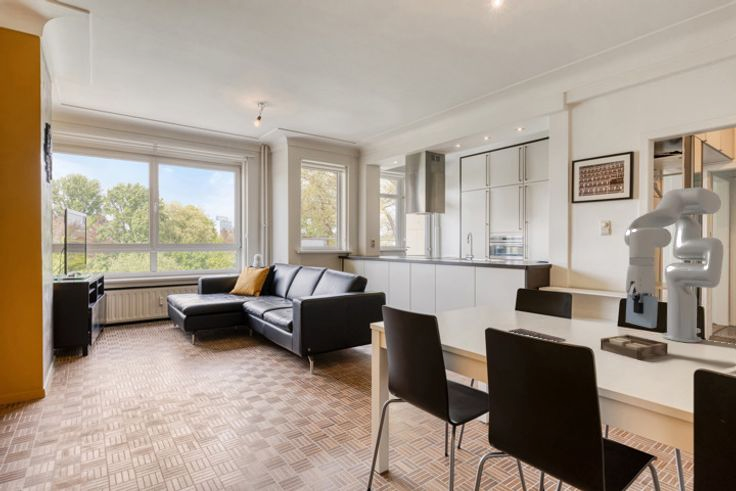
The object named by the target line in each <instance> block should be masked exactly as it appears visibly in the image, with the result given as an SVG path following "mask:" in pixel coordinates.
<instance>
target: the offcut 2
mask: <svg viewBox="0 0 736 491" xmlns="http://www.w3.org/2000/svg"><path fill="white" fill-rule="evenodd" d="M643 346H646V345H642V344H638V343H631V344H626V347H628V348H632V349H636V350H637V348H638V347H643Z"/></svg>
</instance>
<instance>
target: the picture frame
mask: <svg viewBox="0 0 736 491" xmlns="http://www.w3.org/2000/svg"><path fill="white" fill-rule="evenodd" d="M508 331H509V332H514V333H518V334H523V335H529V336H533V337H538V338H542V339H547V340H553V341H559V342H558V343H561V342H565V341H566V338H563V337H558V336H553V335H550V334H545V333H542V332H537V331H533V330H528V329H525V328H522V327H521V328H517V329H510V330H509V329H508Z"/></svg>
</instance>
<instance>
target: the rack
mask: <svg viewBox="0 0 736 491" xmlns="http://www.w3.org/2000/svg"><path fill="white" fill-rule="evenodd" d="M613 338H622V339H627V340H631V343H638V344H642V345H646V346H643V347H638V348H637V350H636V349H632V348H628V347H624V346H620V345H616V344H612V343H609V339H613ZM600 351H603V352H604V351H605V352H609V353H611V354H615V355H619V356H623V357H627V358H630V359H634V360H637V361H644V360H648V359H654V358H659V357H664V356H668V343H666V342H663V341H659V340H655V339H654V340H653V339H650V338H645V337H640V336H636V335H633V334H632V335H631V334H622V335H616V336H609V337H602V338H600Z"/></svg>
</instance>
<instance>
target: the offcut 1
mask: <svg viewBox="0 0 736 491" xmlns="http://www.w3.org/2000/svg"><path fill="white" fill-rule="evenodd" d="M609 343H612V344H616V345H620V346H624V347H626V344H631V340H627V339H622V338H613V339H609Z"/></svg>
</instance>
